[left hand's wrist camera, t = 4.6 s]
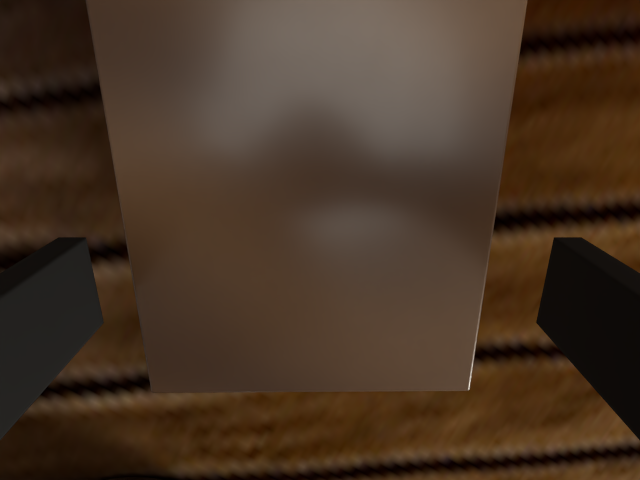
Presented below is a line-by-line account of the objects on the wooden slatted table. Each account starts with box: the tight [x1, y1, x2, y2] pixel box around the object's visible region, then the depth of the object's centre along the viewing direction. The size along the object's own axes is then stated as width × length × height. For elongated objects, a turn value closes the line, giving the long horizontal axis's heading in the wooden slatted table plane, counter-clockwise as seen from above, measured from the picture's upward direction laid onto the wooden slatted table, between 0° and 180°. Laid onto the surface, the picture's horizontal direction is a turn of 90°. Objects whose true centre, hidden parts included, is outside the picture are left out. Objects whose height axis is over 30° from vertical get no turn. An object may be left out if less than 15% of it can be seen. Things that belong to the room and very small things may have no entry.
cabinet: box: [86, 0, 527, 393], centre depth 16 cm, size 19×11×10 cm, turn 0°
